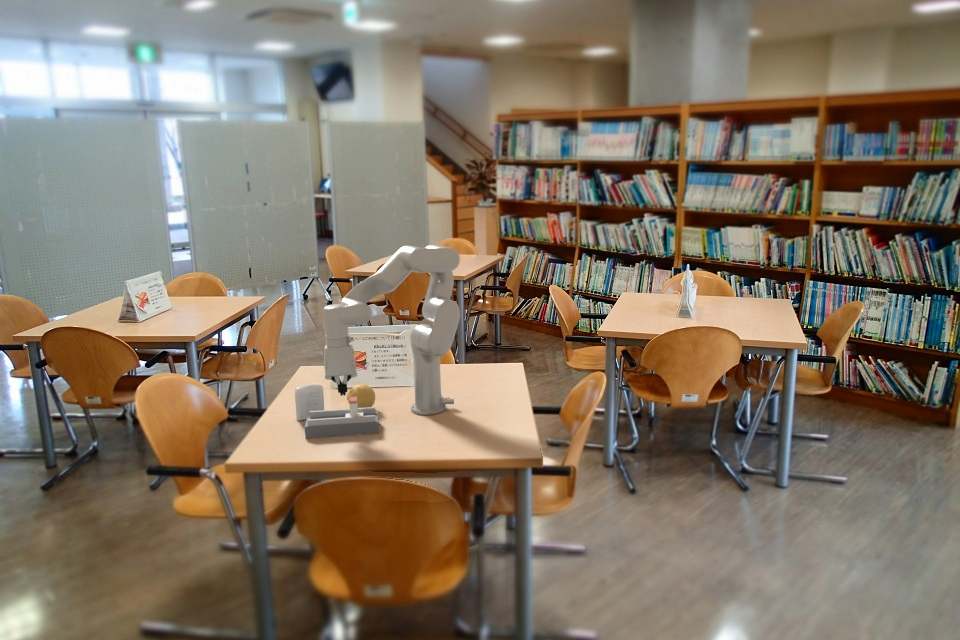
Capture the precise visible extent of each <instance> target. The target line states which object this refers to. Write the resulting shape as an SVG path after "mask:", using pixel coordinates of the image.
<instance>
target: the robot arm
mask: <svg viewBox="0 0 960 640" xmlns="http://www.w3.org/2000/svg"><path fill="white" fill-rule="evenodd" d="M460 262H461V257H460V254H459V252H458V251H457V250H456V249H455V248H453V247H450V246H445V245H440V244H429V245H427V246H425V247H419V246H415V245H409V244H408V245H403V246H401V247H399V249H398V250H397V251H396V252H394V253H393V254H392V256H391V257H390V258H389V259H388V260H387V261H386V262H385V263H384V264H383V265H382V266H381V267H380V268H379V269H378V270H377V271H376V272H375V273H374V274H372V275H370V276H368V277H367V278H365V279H364V280H362V281H360V282H359V283H357V284H356V285H354V287H353V288H351V289H350V291H348V293H346V294H345V295H344V296H343V298H342V299H341V300H340V302H339V303H334V304H328V305H326V306H324V307H323V309H322V316H323V317H322V319H323V328H324V336H325V345H324V349H323V365H324V366H323V367H324V374H325V375H324V379H325V380H329V381H330V380H331V381H332V382H334V383H335V384H336V387H337V393H339V394H340V397H342V396H346V394H347V393H348V382H349V381H350V380H351V379H352V378H353V379H354V378H357V377H358V371H357V362H356V356H355V350H354V346H353V344H352V343H351V342H354V336H353V337H352V336H350V335H349V327H348V326H360V325H365V324H367V323H368V322H369V321H370V320H371V319H372V317H373V311H372V308H371V307H370V306H369V305H368V304H367V303H368V302H370V301H371V300H372V299H374V298H376V297H379V296H382V295H386V294H389V293H391V292H394V291H395V290H396V289H397V288H398V287H399V286H400V285H401V284H402V283H403V282H404V281H405V279H406V278H408V276H409V275H410V274H411V273H412V272H413V273H418V274H429V284H428V288H427V291H426V294H425V298H424V301H423V304H422V308H421V313H422V316H423V318H424V319H425V320H426V321H429V322H432V325H430V324H427V323H419V324H417V325H416V326H414V328H413V329H412V330H411V332H410V337H409V340H410V341H409V342H410V343H409V344H410V348H411V352H412V359H413V360H412V361H413V381H414V382H413V383H414V384H413V385H414V386H413V387H414V403H413V404H412V405H411V406H410V410H411V412H412V413H414V414H417V415H422V416H430V415H431V416H432V415H437V414H440V413H442V412H445V410H446V408H447V406H446V405H455V399H454V398H451V397H443V396H442V395H443V394H442V385H441V383H442V382H441V380H442V379H441V358H440V357H443V356H445V355H447V354H448V352H449V351H450V349H451V348H452V345H453V342H454V340H455V336H456V333H457V329H458V326H459V323H460V319H461V309H460V307H459V305H458V303H457V302H456V301H454V300H453V299H451V296H452V292H453V289H454V284H455V283H454V282H455V281H454V280H455V279H454V274H453V271H455V270H456V269H457V268H458V267H459V264H460ZM341 376H342V377H343V380H341Z"/></svg>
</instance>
